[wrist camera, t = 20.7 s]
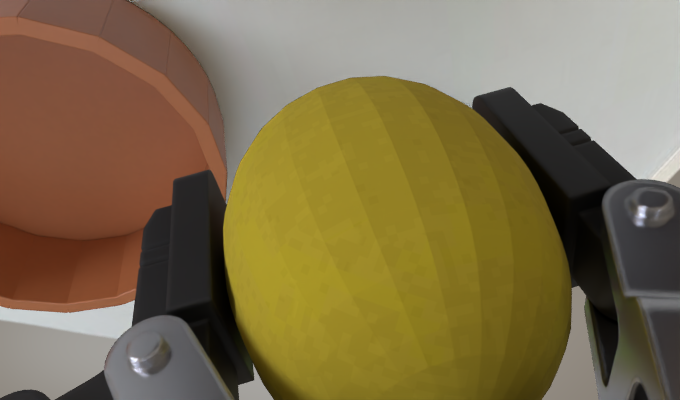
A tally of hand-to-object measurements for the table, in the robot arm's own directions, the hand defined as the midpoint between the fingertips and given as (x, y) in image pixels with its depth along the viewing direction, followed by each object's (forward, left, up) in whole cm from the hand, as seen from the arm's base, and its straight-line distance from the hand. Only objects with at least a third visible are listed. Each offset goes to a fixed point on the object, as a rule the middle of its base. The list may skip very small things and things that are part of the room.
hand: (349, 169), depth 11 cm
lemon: (0, 0, -2) cm, 2 cm away
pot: (+11, -7, -17) cm, 22 cm away
